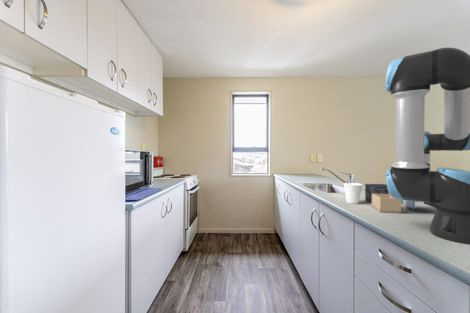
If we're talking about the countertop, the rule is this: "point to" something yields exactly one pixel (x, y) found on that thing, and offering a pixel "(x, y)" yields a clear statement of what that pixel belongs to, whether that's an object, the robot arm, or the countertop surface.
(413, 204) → the lid
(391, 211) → the tray
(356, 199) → the cup
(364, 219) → the countertop surface
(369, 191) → the small box
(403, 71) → the robot arm
